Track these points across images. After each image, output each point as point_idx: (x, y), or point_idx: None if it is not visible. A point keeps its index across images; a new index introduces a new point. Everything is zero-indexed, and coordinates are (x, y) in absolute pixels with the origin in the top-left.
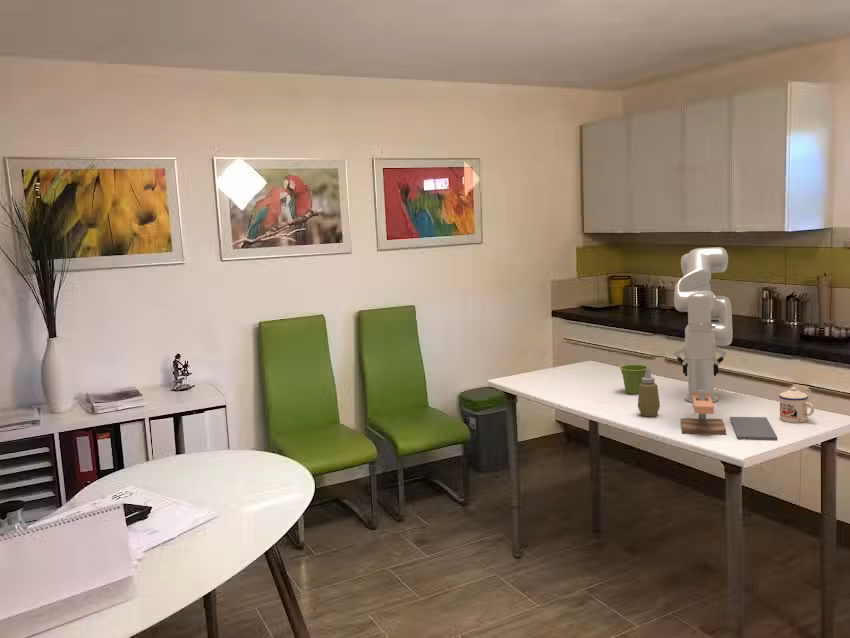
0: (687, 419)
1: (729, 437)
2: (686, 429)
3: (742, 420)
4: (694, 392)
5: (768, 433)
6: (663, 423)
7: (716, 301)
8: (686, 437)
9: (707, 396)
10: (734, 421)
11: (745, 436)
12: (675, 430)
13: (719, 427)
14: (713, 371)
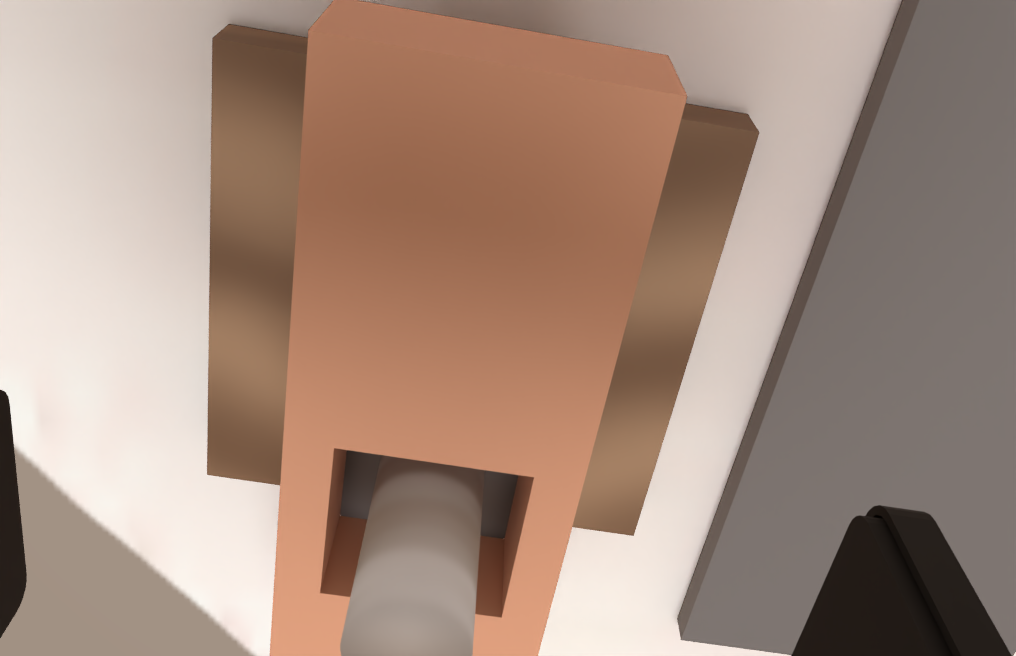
0: (301, 112)
1: (631, 569)
2: (251, 480)
3: (1003, 157)
4: (371, 71)
5: (990, 595)
6: (4, 55)
7: None
8: (252, 542)
9: (552, 402)
10: (882, 194)
11: (748, 646)
12: (155, 342)
13: (601, 451)
14: (888, 582)
